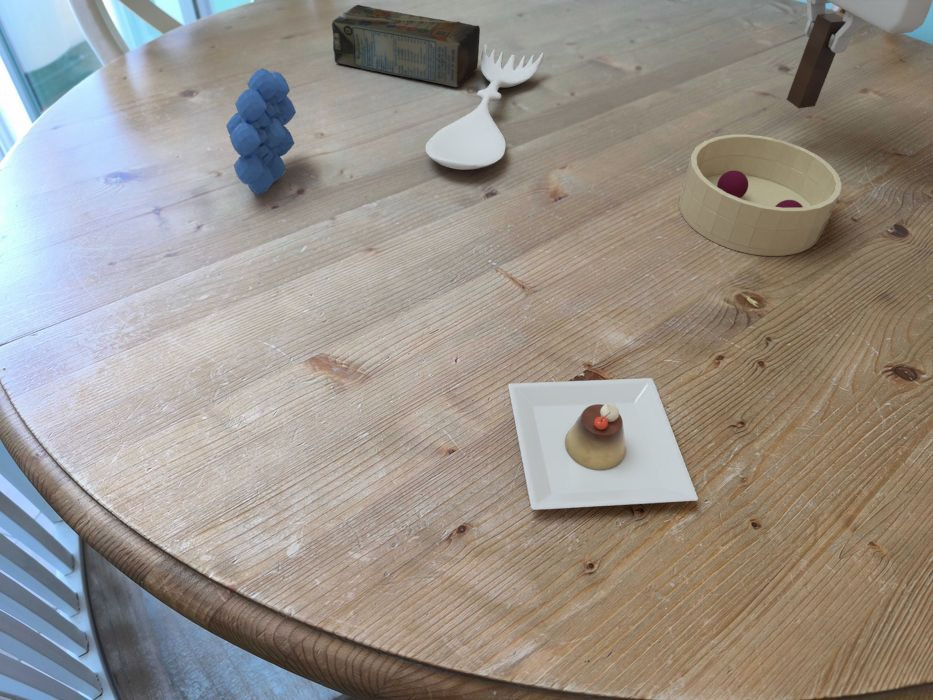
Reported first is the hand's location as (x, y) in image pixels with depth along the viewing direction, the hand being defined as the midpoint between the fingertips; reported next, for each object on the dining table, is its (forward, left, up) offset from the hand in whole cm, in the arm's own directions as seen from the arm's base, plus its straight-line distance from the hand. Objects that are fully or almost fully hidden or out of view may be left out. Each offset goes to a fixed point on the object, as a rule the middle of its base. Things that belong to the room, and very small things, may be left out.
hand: (823, 43), depth 85 cm
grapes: (+63, -9, -13) cm, 65 cm away
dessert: (+45, +36, -13) cm, 59 cm away
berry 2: (+13, +16, -10) cm, 23 cm away
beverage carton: (+39, -33, -13) cm, 53 cm away
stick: (0, 0, -7) cm, 7 cm away
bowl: (+14, +12, -13) cm, 22 cm away
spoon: (+34, -16, -13) cm, 40 cm away
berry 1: (+15, +10, -10) cm, 21 cm away
